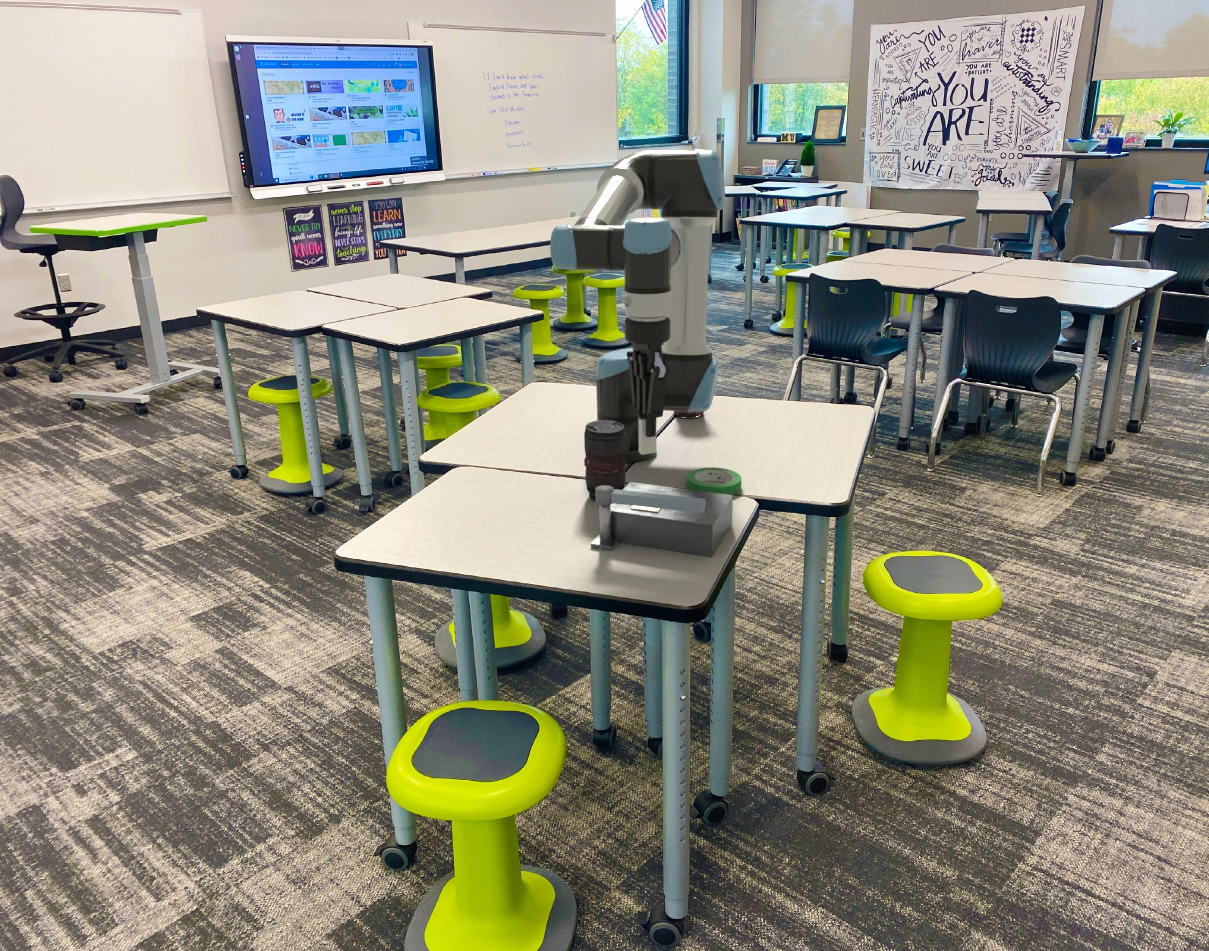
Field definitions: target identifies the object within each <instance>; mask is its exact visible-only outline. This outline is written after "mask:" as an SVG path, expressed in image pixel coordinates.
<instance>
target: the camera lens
mask: <svg viewBox="0 0 1209 951" xmlns="http://www.w3.org/2000/svg"><path fill="white" fill-rule="evenodd" d="M584 428H585V429H584V434H583V437H584V441H583V442H584V443H583V446H584V453H585V457H584V461H583V462H584V465H583V466H584V467H585V484H586V491H587V492H588V497H589V499H590V500H591V501H592V502H593V501H594V502H596V495H595V488H596V487H598V486H603V485H607V486H612V487H613V488H614V489H617V490H623V489H624V488H625V487H626V486H625V485H626V466H625V465H626V464H625V448H626V433H625V429H624V425H623V424H621V423H619V422H616V421H610V420H600V421H597V420H594V421H590V422H587V424H585V427H584Z"/></svg>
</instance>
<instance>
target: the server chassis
mask: <svg viewBox="0 0 1209 951" xmlns="http://www.w3.org/2000/svg"><path fill="white" fill-rule="evenodd" d="M623 490H626V491H636V492H645V493H655V494H664V495H674V496H683V497H692V498H702V499H705V510H704V511H703V513H696V512H687V511H678V510H669V509H660V508H651V507H642V506H633V505H624V504H615V503H613V504H610V505H599V504H598V506H599V507H598V510H599V513H598V514H599V518H598V520H599V521H598V522H599V534H598V535H597V537H595V539H593V540H592V542H591V543H590V549H597V550H603V551H611V552H613V551H614V550H615V548H616V547H617V546H618V545H619V544H624V545H631V546H637V547H638V546H639V547H645V548H651V549H657V550H662V551H663V550H664V551H670V552H677V553H684V554H689V555H695V556H703V557H707V558H708V557H709V558H713V556H714V554H715V553H716V552H717V550H718V548H719V546H720V545H721V543H722V542H723V540H724V539H725V537H726V535H727V534H728V532H729V530H730V528H731V527H732V525H733V505H734V504H733V500H734V495H727V494H719V493H712V492H704V491H696V490H688V489H687V488H682V487H681V488H679V487H672V486H664V485H656V484H647V483H640V482H633V481H632V482H631V481H630V482H628V484H627V485H626V486H625V488H624V489H623Z"/></svg>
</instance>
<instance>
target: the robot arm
mask: <svg viewBox="0 0 1209 951" xmlns="http://www.w3.org/2000/svg"><path fill="white" fill-rule="evenodd" d="M725 185H726V184H725V177H724V169H723V163H722V158H721V156H720V155H719V153H718V152H717V151H715V150H712V149H699V148H695V149H667V150H666V149H665V150H664V149H663V150H662V149H659V150H657V149H655V150H653V149H649V150H647V149H646V150H645V149H644V150H640V151H637V152H634V153H631V154H629V155H627V156H624V157H623V158H620V159H619V160H617V161H616V162H614V163H613V164H612V165H610V166H609V167H608V168H606V170H605V171H604V172H603V173H602V175H601V176H600V178H599V180H598V182H597V187H596V193H595V194H594V195H593V197H592V199H591V200H590V201H589V203H588V205H587V206H586V208H585V209H584V210H583V212H581V215H580V217H578V219H577V221H576V222H575V223H574V224H571V223H570V224H568V223H567V224H565V225H563V224H562V225H556V226H555V227H554V228H553V230H552V232H551V235H550V242H549V246H550V247H549V250H550V257H551V258H550V259H551V262H552V264H553V266H554V267H556V269H559V270H571V271H573V272H574V271H623V272H624V273H623V274H624V298H622V300H621V301H622V304H623V305H624V315H626V316H627V317H626V318H625V319H624V339H625V341H627V342H628V343H630V344H632V347H630V348H622V349H616V350H613V351H609V352H607V353H604V354H602V355H601V356H599V358H598V359H597V361H596V371H595V372H596V373H595V377H594V378H595V381H596V386H595V387H596V389H595V390H596V411H597V412H596V416H597V417H596V418H597V419H596V421H600V420H610V421H616V422H619V423H621V424H623V425H624V429H625V433H626V448H625V463H626V464H627V463H635V462H636V463H637V462H641V461H645V460H649V459H650V458H652V457H654V456H656V454H657V427H658V426H657V419H658V418H662V417H663V416H664V411H670V412H674V411H685V412H687V413H690V412H704V413H705V412H707V411H708V410H709V409H710V408H711V406H712V404H713V400H714V397H715V391H716V387H717V381H718V375H719V365H720V360H719V359H716V357H713V349H712V348H711V347H710V346H709V344H707V341H706V340H707V339H706V337H707V314H708V312H707V311H708V307H707V306H708V283H709V282H708V280H709V279H708V278H709V255H710V254H709V252H710V251H709V250H710V248H709V246H710V229H711V226H712V225H714V224H713V223H714V222H716V221H717V220H718V212H719V211H721V210H724V209H725V207H726V186H725ZM637 210H661V211H660V213H661V215H660V216H661V217H640V218H639V217H637V218H631V219H628V220H627V218H628V217H629V215H630V214H632V213H634V212H636V211H637ZM626 220H627V221H626Z"/></svg>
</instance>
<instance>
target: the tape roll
mask: <svg viewBox="0 0 1209 951" xmlns="http://www.w3.org/2000/svg"><path fill="white" fill-rule="evenodd" d="M708 481H709V483H708ZM712 481H715V482H721V483H710V482H712ZM722 482H723V483H722ZM686 489H688V490H696V491H704V492H712V493H719V494H727V495H733V496H735V495H737V494H739V493H740V492H741V490H742V476H741V475H740V474H739V473H738V472H736V471H734V470H732V469H729V468H723V467H715V466H714V467H712V466H711V467H701V468H696V469H693V470H691V471H689V472H688V473H687V475H686Z"/></svg>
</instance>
